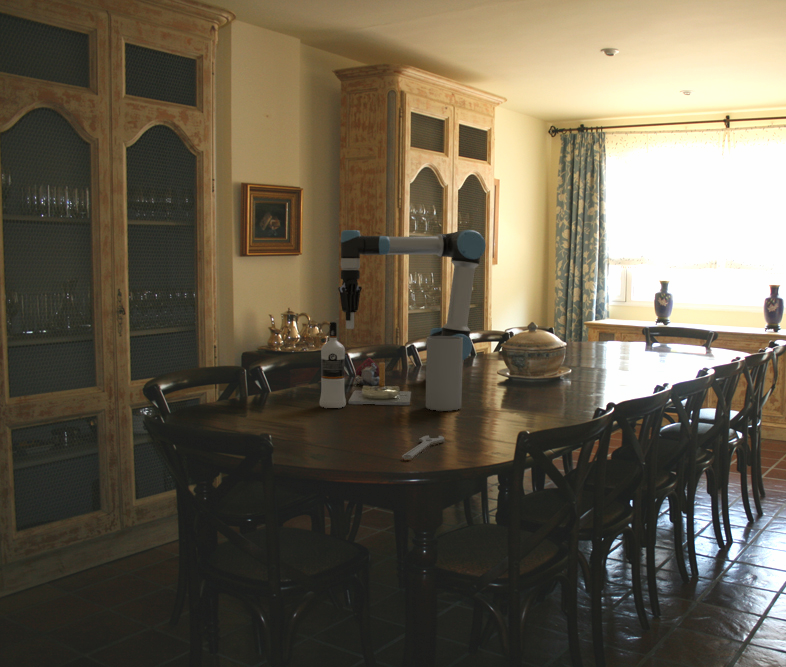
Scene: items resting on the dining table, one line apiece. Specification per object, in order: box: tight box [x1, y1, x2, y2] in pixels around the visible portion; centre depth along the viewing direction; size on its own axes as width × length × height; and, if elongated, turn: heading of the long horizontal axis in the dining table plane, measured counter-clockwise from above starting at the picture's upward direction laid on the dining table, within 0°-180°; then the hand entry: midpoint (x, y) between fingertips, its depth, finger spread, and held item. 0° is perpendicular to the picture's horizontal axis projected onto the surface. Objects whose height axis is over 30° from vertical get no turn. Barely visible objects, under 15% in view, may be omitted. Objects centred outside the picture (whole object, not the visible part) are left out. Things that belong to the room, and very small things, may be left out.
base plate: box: [347, 389, 412, 406], centre depth 274 cm, size 22×22×1 cm
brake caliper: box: [354, 357, 379, 386], centre depth 306 cm, size 11×11×12 cm
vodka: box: [319, 321, 347, 409], centre depth 257 cm, size 9×9×30 cm
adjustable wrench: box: [401, 435, 445, 459], centre depth 201 cm, size 25×6×2 cm, turn 154°
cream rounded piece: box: [361, 362, 401, 399], centre depth 273 cm, size 14×14×11 cm
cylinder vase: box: [425, 335, 463, 412], centre depth 257 cm, size 12×12×25 cm
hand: (350, 328), depth 293 cm, fingers closed
